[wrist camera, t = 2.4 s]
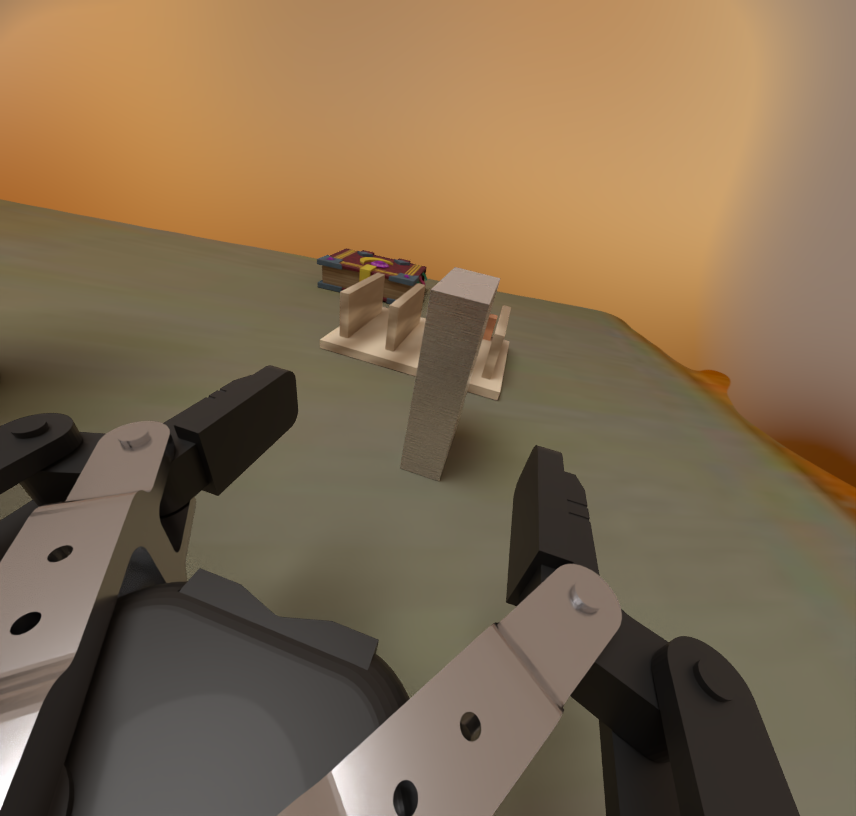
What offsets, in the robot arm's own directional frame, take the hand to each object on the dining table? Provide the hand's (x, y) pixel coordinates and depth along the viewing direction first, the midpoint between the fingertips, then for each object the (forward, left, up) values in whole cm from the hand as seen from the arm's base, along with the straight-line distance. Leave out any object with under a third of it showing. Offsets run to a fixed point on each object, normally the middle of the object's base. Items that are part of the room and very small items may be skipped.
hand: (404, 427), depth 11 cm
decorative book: (-19, +45, -11) cm, 50 cm away
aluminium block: (0, +11, -11) cm, 16 cm away
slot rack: (-6, +28, -11) cm, 31 cm away
